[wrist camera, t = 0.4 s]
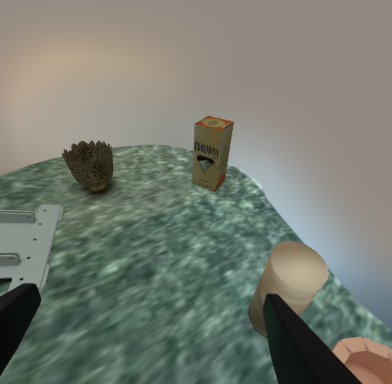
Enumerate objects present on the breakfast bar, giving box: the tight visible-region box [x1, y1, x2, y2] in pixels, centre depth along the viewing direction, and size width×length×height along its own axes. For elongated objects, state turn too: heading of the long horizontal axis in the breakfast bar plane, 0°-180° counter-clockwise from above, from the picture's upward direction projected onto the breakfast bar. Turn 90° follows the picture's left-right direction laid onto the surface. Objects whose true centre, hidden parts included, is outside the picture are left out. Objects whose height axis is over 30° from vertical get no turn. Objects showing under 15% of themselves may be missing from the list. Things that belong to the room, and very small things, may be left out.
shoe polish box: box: [192, 116, 234, 192], centre depth 40 cm, size 5×5×12 cm
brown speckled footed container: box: [62, 141, 113, 193], centre depth 38 cm, size 8×7×8 cm
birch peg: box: [248, 241, 328, 337], centre depth 21 cm, size 4×4×10 cm
